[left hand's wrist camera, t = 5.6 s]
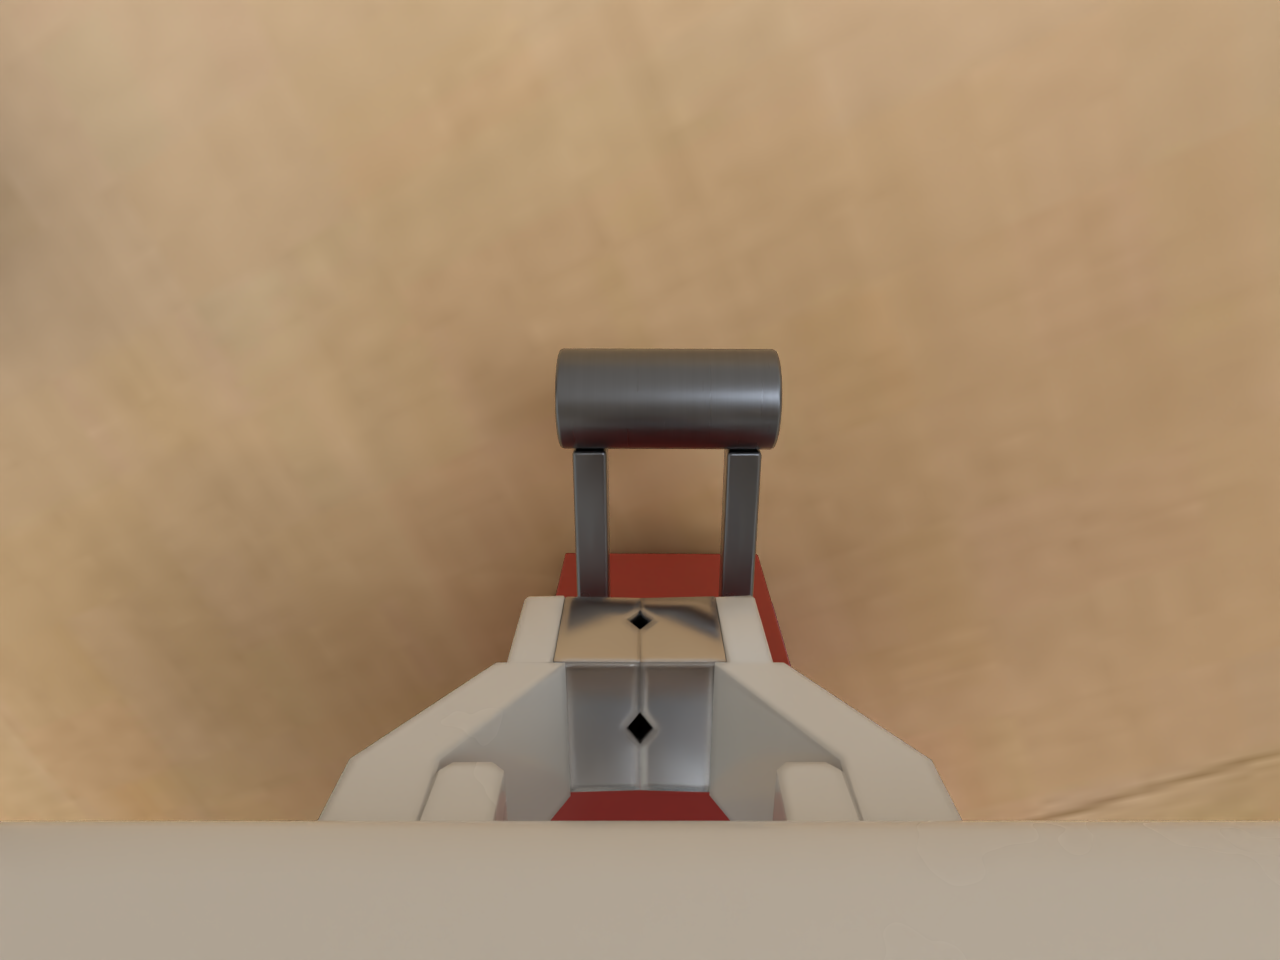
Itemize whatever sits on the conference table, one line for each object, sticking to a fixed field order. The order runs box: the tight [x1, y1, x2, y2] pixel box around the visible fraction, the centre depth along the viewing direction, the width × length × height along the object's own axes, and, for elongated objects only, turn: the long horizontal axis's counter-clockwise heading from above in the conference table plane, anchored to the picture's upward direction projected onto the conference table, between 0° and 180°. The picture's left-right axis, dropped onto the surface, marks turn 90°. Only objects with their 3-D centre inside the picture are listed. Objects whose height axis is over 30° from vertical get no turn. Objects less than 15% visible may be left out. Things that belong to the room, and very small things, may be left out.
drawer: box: [550, 349, 790, 821], centre depth 18 cm, size 25×5×8 cm, turn 0°
